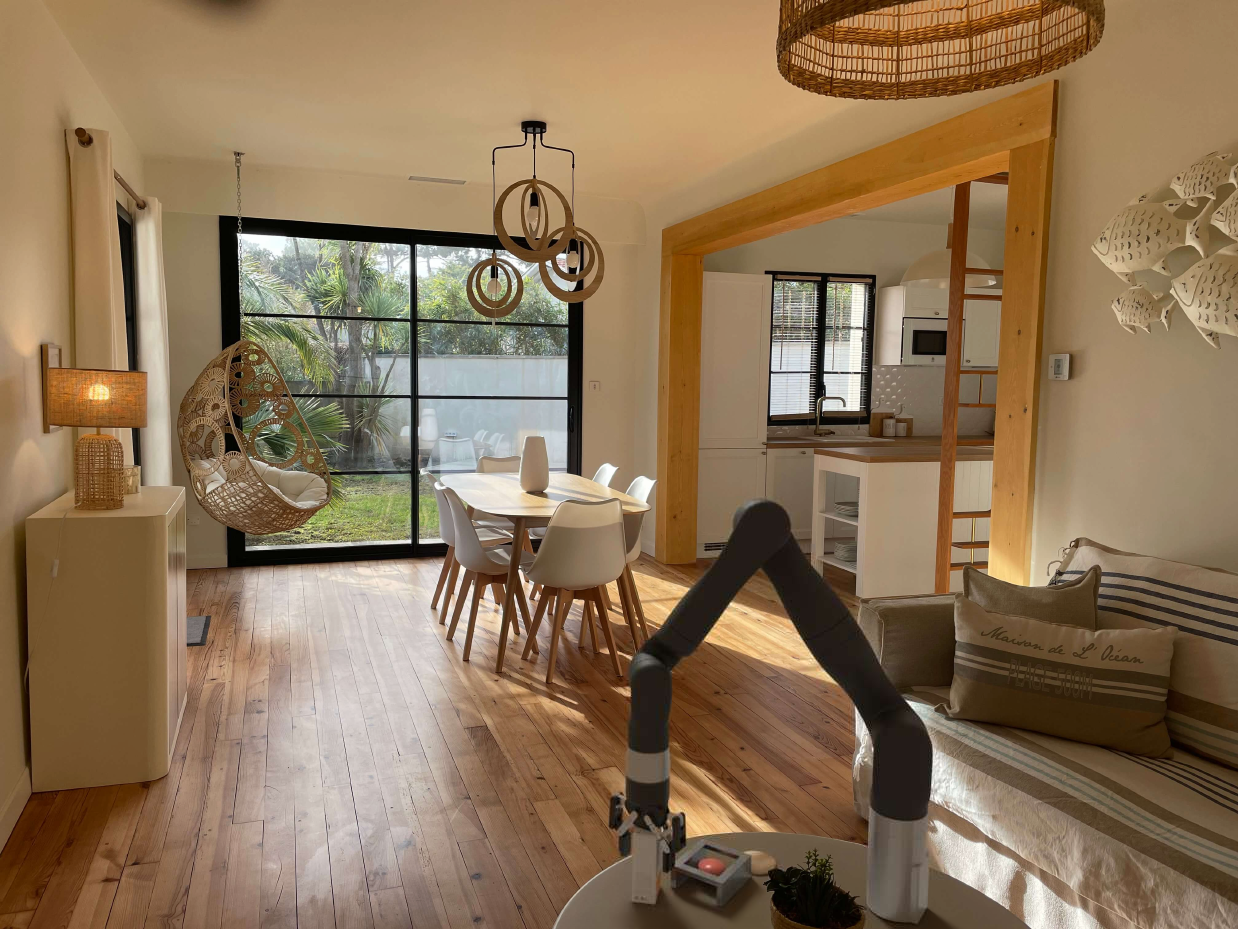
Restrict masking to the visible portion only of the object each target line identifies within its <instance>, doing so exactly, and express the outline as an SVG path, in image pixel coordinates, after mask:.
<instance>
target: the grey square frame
mask: <svg viewBox="0 0 1238 929" xmlns="http://www.w3.org/2000/svg"><path fill="white" fill-rule="evenodd" d="M708 851H710V852H711V851H712V852H715V853H717V854H720V855H722V856H726V857H728V858H731V859H734V861H733V862H732V863H731V864H730V865H729V866H728V867H727V868H726V870H725V871H724V872H723V873H722V874H721V875H720V876H719V877H718V876H715V875H712V874H710V873H707V872H704V871H701V870H699V869H696V867H697V866H698V865H699V862H700V861H701V860H704V859H708V858H707V857H708V856H707V854H708ZM751 858H752V855H749V854H746V853H743V851H739V850H737V849H734V848H731V847H728V846H725V845H723V844H719V843H717V842H714V841H710V840H708V839H705V838H701V839H700V840H698V842H696V843H695V844H694V845H692V846H691V847H690V848H689V849H688V850H687V851H685V852H684V853H683V854H682V855H681V856H680V857H678V858H677V859H675V866H674V868H672V869H671V870H670V888H672V889H677V888H678V887H679V886H681V885H682V884H683V883H684V882H685V881H687V879H689V878H690V877H691V878H694V879H696V880H699V881H702V882H704V883H706V884H710V885H712V886H715V887H716V905H717V906H719V907H723V906H724V905H725V904H726V903H727V902H728V901H729V900H730V899H731V898H732V897H733V896H734V895H735V894H736V893H737V892H738V891H739V890H740V889H741V888H742V887H743V886H744V885H745V884H746V883H747V881H748V880H750V879H751V877H752V874H751Z"/></svg>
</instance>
